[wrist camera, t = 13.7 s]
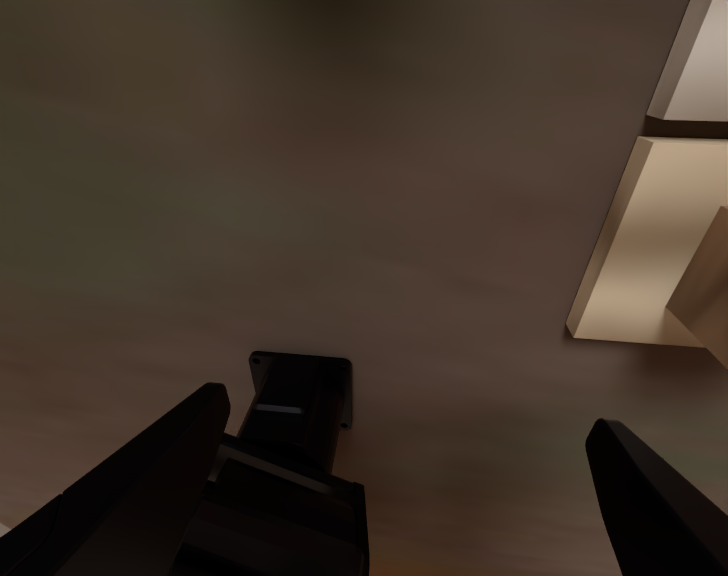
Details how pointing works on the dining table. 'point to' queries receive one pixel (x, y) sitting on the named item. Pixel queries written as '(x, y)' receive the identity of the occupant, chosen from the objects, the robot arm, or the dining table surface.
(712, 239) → the walnut block
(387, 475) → the dining table surface
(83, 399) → the dining table surface
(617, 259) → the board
